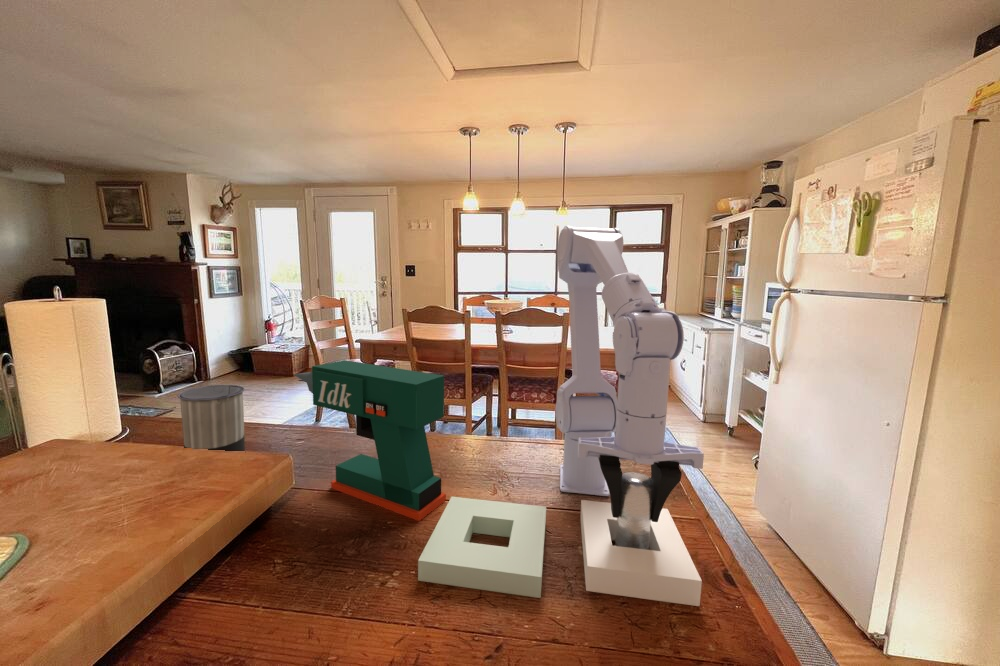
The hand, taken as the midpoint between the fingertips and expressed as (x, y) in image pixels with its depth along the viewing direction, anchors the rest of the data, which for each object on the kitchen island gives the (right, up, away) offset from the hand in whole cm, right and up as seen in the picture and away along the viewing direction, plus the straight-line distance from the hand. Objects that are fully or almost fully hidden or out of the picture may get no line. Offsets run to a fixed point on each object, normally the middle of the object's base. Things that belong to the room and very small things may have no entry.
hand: (633, 515), depth 50 cm
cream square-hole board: (0, -6, +1) cm, 6 cm away
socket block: (-18, -5, +1) cm, 19 cm away
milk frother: (-69, -2, +17) cm, 71 cm away
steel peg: (0, -4, 0) cm, 4 cm away
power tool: (-41, -3, +17) cm, 45 cm away
